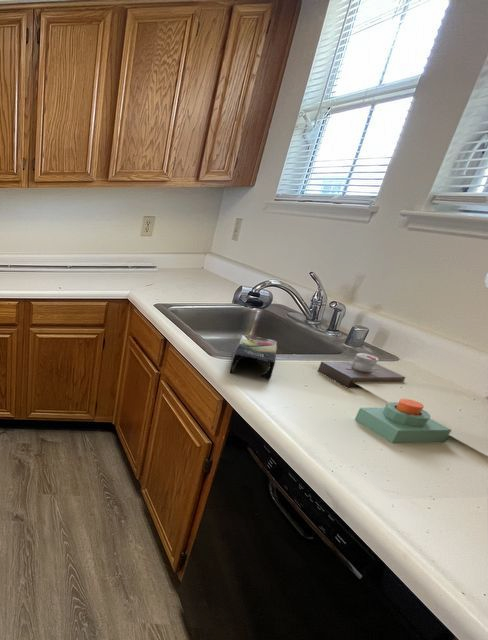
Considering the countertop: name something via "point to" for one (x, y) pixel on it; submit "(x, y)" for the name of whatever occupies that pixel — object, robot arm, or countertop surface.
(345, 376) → the panel
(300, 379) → the countertop surface
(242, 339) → the dark boxy piece
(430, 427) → the green stepped block
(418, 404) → the orange button cap
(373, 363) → the lock knob
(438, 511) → the countertop surface
